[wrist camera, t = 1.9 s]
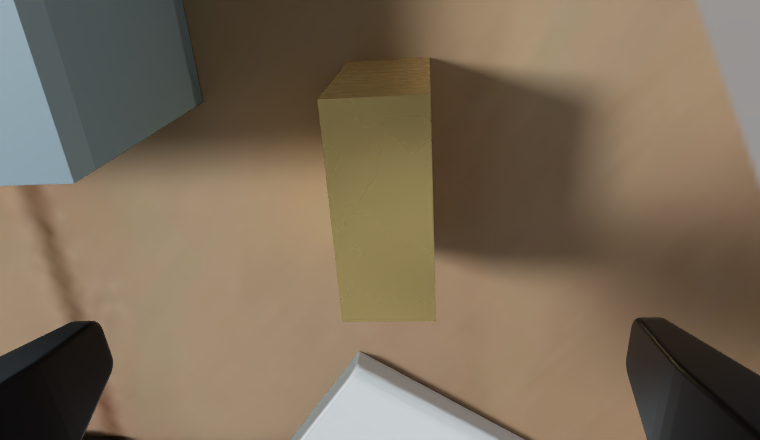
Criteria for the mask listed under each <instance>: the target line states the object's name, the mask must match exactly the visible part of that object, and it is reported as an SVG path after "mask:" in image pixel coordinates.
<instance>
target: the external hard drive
mask: <svg viewBox="0 0 760 440" xmlns="http://www.w3.org/2000/svg"><path fill="white" fill-rule="evenodd" d="M291 440H524V439H523V438H521V437H519V436H517V435H515V434H513V433H511V432H510V431H508V430H506V429H504V428H502V427H500V426H498V425H496V424H495V423H493V422H491V421H489V420H487V419H485V418H483V417H481V416H480V415H478V414H476V413H474V412H472V411H470V410H468V409H466V408H465V407H463V406H461V405H459V404H457V403H455V402H454V401H452V400H450V399H448V398H446V397H444V396H442V395H441V394H439V393H437V392H435V391H433V390H431V389H429V388H428V387H426V386H424V385H422V384H420V383H418V382H416V381H414V380H412V379H411V378H409V377H407V376H405V375H403V374H401V373H399V372H398V371H396V370H394V369H392V368H390V367H388V366H386V365H385V364H383V363H381V362H379V361H377V360H375V359H373V358H371V357H369V356H368V355H366V354H364V353H362V352H361V351H359V352H358V353H357V354H356V356H355V357H354V358H353V360H352V361H351V362H350V364H349V365H348V366H347V367H346V369H345V370H344V371H343V373H342V374H341V375H340V377H339V378H338V379H337V380H336V382H335V383H334V384H333V386H332V387H331V388H330V389H329V391H328V392H327V393H326V395H325V396H324V397H323V398H322V400H321V401H320V402H319V404H318V405H317V406H316V407H315V409H314V410H313V411H312V413H311V414H310V415H309V416H308V418H307V419H306V420H305V422H304V423H303V424H302V425H301V427H300V428H299V429H298V431H297V432H296V433H295V434H294V436H293V437H292V438H291Z"/></svg>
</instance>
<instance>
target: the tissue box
mask: <svg viewBox="0 0 760 440" xmlns="http://www.w3.org/2000/svg"><path fill="white" fill-rule="evenodd" d="M202 102H203V100H202V95H201V90H200V85H199V80H198V75H197V70H196V66H195V61H194V56H193V51H192V46H191V41H190V36H189V32H188V27H187V22H186V17H185V12H184V7H183V2H182V0H0V186H8V185H39V184H70V183H75V182H77V181H79V180H80V179H82V178H83V177H85V176H87V175H88V174H90V173H91V172H93V171H95V170H96V169H98V168H99V167H101V166H102V165H104V164H106V163H107V162H109V161H110V160H112V159H114V158H115V157H117V156H118V155H120V154H121V153H123V152H125V151H126V150H128V149H129V148H131V147H133V146H134V145H136V144H137V143H139V142H140V141H142V140H144V139H145V138H147V137H148V136H150V135H152V134H153V133H155V132H156V131H158V130H159V129H161V128H163V127H164V126H166V125H167V124H169V123H171V122H172V121H174V120H175V119H177V118H178V117H180V116H182V115H183V114H185V113H186V112H188V111H190V110H191V109H193V108H194V107H196V106H198V105H199V104H201V103H202Z"/></svg>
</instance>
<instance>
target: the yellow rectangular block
mask: <svg viewBox="0 0 760 440" xmlns="http://www.w3.org/2000/svg"><path fill="white" fill-rule="evenodd" d="M317 101H318V110H319V119H320V128H321V136H322V145H323V154H324V163H325V171H326V180H327V189H328V198H329V206H330V215H331V224H332V233H333V241H334V250H335V259H336V268H337V276H338V285H339V294H340V303H341V311H342V320H343V322H358V321H436V304H435V261H434V219H433V177H432V135H431V93H430V57H429V58H410V59H391V60H373V61H354V62H347V63H346V64H345V65H344V66H343V68H342V69H341V70H340V71H339V73H338V74H337V75H336V77H335V78H334V79H333V80H332V82H331V83H330V84H329V85H328V87H327V88H326V89H325V90H324V92H323V93H322V94H321V95H320V97H319V98H318V99H317Z"/></svg>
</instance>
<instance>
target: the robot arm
mask: <svg viewBox="0 0 760 440" xmlns="http://www.w3.org/2000/svg"><path fill="white" fill-rule="evenodd" d="M112 367H113V358H112V355H111V352H110V349H109V346H108V343H107V340H106V338H105V335H104V332H103V329H102V327H101V325H100V324H99V323H98V322H95V321H74V322H70V323H68V324H66V325H64V326H62V327H60V328H58V329H56V330H54V331H52V332H50V333H48V334H46V335H44V336H41V337H39V338H37V339H35V340H33V341H31V342H29V343H27V344H25V345H23V346H21V347H19V348H17V349H15V350H13V351H11V352H9V353H6V354H4V355H2V356H0V440H118V439H113V438H83V436H84V434H85V431H86V429H87V427H88V424H89V422H90V420H91V418H92V415H93V413H94V411H95V409H96V406H97V404H98V402H99V399H100V397H101V395H102V393H103V390H104V388H105V386H106V383H107V381H108V379H109V377H110V374H111V372H112ZM626 368H627V373H628V377H629V380H630V384H631V387H632V391H633V394H634V397H635V401H636V404H637V407H638V411H639V414H640V417H641V421H642V424H643V428H644V431H645V434H646V438H647V440H760V375H758V374H756V373H754V372H753V371H751V370H749V369H748V368H746V367H744V366H743V365H741V364H739V363H738V362H736V361H734V360H733V359H731V358H729V357H728V356H726V355H724V354H723V353H721V352H719V351H718V350H716V349H714V348H713V347H711V346H709V345H708V344H706V343H704V342H703V341H701V340H699V339H698V338H696V337H694V336H693V335H691V334H689V333H688V332H686V331H684V330H683V329H681V328H679V327H678V326H676V325H674V324H673V323H671V322H669V321H668V320H666V319H664V318H660V317H651V318H637V319H635V320H634V322H633V324H632V327H631V333H630V339H629V345H628V351H627V357H626Z"/></svg>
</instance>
